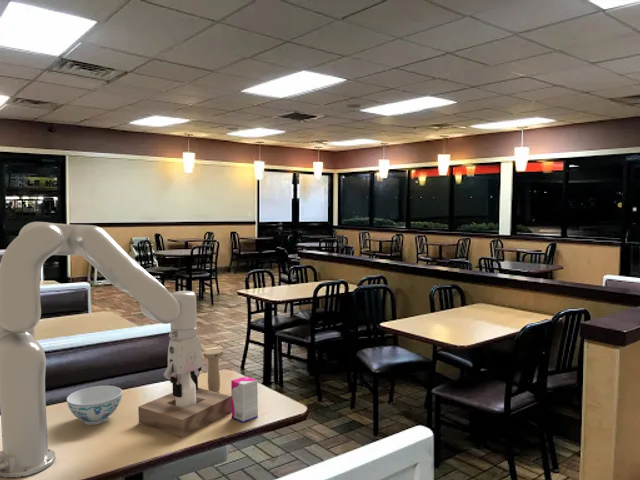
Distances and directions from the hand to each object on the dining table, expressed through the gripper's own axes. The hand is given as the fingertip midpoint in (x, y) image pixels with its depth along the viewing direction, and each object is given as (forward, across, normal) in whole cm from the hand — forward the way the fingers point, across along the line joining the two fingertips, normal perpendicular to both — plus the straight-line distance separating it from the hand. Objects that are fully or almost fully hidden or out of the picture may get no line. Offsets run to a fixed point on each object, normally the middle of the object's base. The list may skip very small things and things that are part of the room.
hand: (185, 392), depth 150 cm
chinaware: (+8, -15, +22) cm, 28 cm away
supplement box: (+8, +9, -15) cm, 19 cm away
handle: (+8, +17, +5) cm, 19 cm away
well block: (+8, 0, 0) cm, 8 cm away
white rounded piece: (+6, 0, 0) cm, 6 cm away
